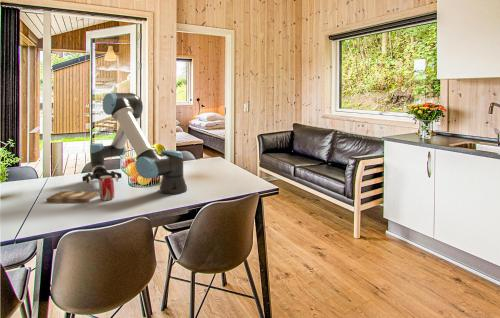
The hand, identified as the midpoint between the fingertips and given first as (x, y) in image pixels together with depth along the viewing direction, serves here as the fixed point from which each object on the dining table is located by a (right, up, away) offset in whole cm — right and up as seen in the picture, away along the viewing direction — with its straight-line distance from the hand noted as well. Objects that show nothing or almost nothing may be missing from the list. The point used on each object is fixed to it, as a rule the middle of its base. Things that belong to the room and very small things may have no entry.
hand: (104, 180), depth 188 cm
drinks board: (-13, -9, -7) cm, 17 cm away
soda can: (+5, -9, -7) cm, 13 cm away
